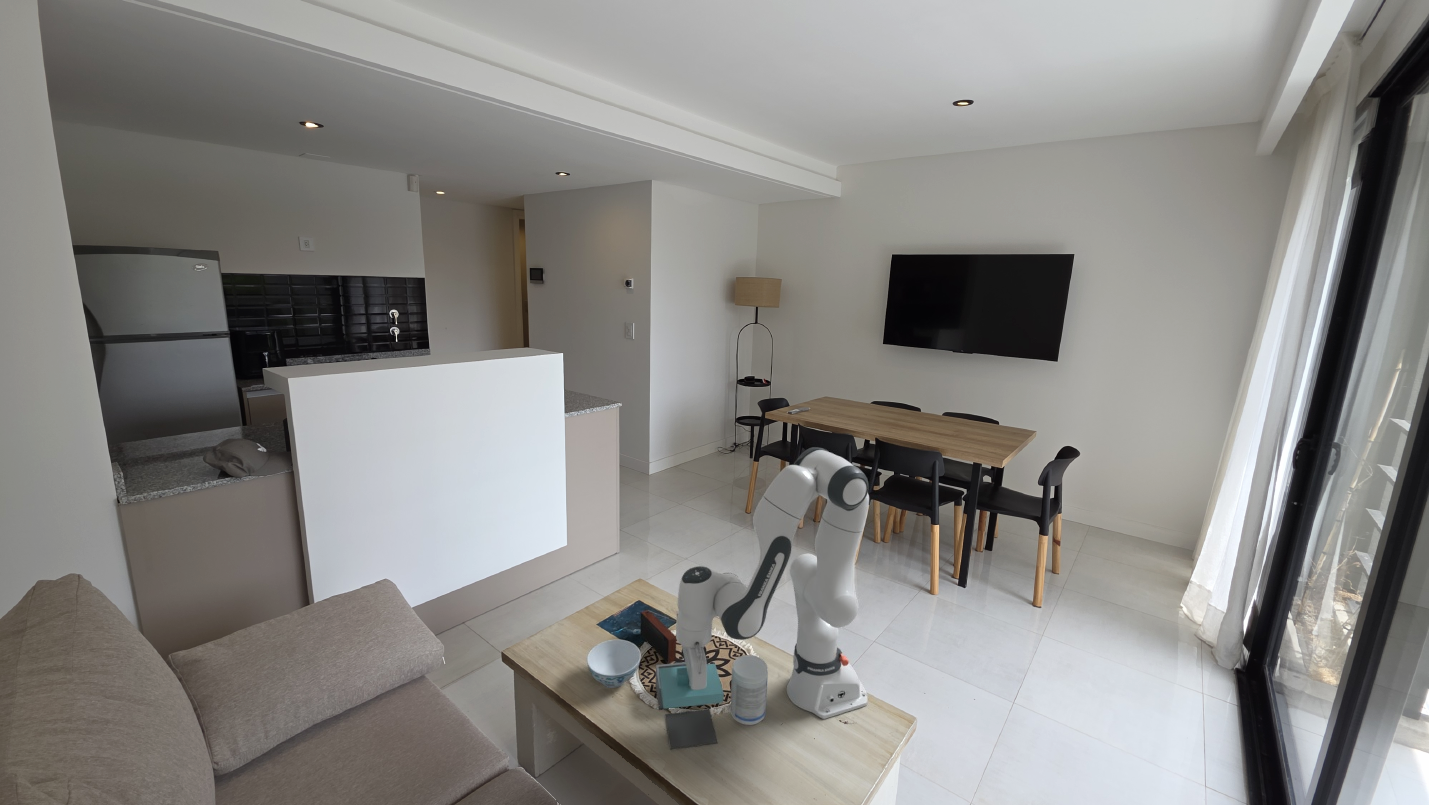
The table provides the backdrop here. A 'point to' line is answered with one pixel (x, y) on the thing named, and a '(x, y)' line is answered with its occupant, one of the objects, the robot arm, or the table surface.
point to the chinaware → (613, 662)
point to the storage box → (658, 689)
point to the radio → (658, 636)
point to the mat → (690, 729)
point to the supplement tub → (749, 689)
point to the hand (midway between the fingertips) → (691, 678)
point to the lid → (688, 688)
